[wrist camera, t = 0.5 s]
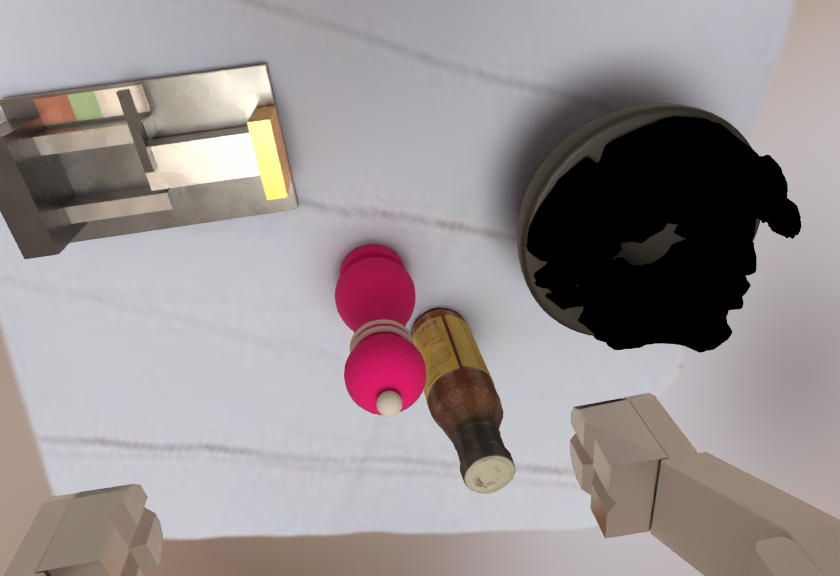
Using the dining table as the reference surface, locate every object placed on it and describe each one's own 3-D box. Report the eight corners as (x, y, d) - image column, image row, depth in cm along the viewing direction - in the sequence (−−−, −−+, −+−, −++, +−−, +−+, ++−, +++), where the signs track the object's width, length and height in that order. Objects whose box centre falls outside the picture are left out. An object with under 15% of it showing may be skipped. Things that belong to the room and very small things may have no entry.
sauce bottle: (408, 356, 61) (438, 510, 44) (410, 306, 58) (442, 450, 41) (469, 353, 62) (520, 502, 45) (473, 304, 59) (531, 443, 42)
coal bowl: (509, 305, 60) (575, 434, 44) (472, 117, 50) (541, 193, 34) (695, 253, 60) (831, 362, 44) (696, 53, 50) (874, 98, 33)
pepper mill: (318, 272, 55) (313, 414, 38) (375, 224, 53) (395, 349, 36) (370, 317, 58) (386, 467, 41) (424, 274, 57) (464, 410, 40)
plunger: (125, 84, 44) (104, 97, 40) (266, 65, 44) (259, 76, 40) (164, 195, 48) (149, 217, 44) (291, 177, 49) (287, 197, 45)
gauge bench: (5, 97, 44) (-47, 119, 38) (266, 63, 46) (256, 78, 40) (69, 238, 50) (33, 276, 44) (298, 204, 52) (294, 237, 46)
